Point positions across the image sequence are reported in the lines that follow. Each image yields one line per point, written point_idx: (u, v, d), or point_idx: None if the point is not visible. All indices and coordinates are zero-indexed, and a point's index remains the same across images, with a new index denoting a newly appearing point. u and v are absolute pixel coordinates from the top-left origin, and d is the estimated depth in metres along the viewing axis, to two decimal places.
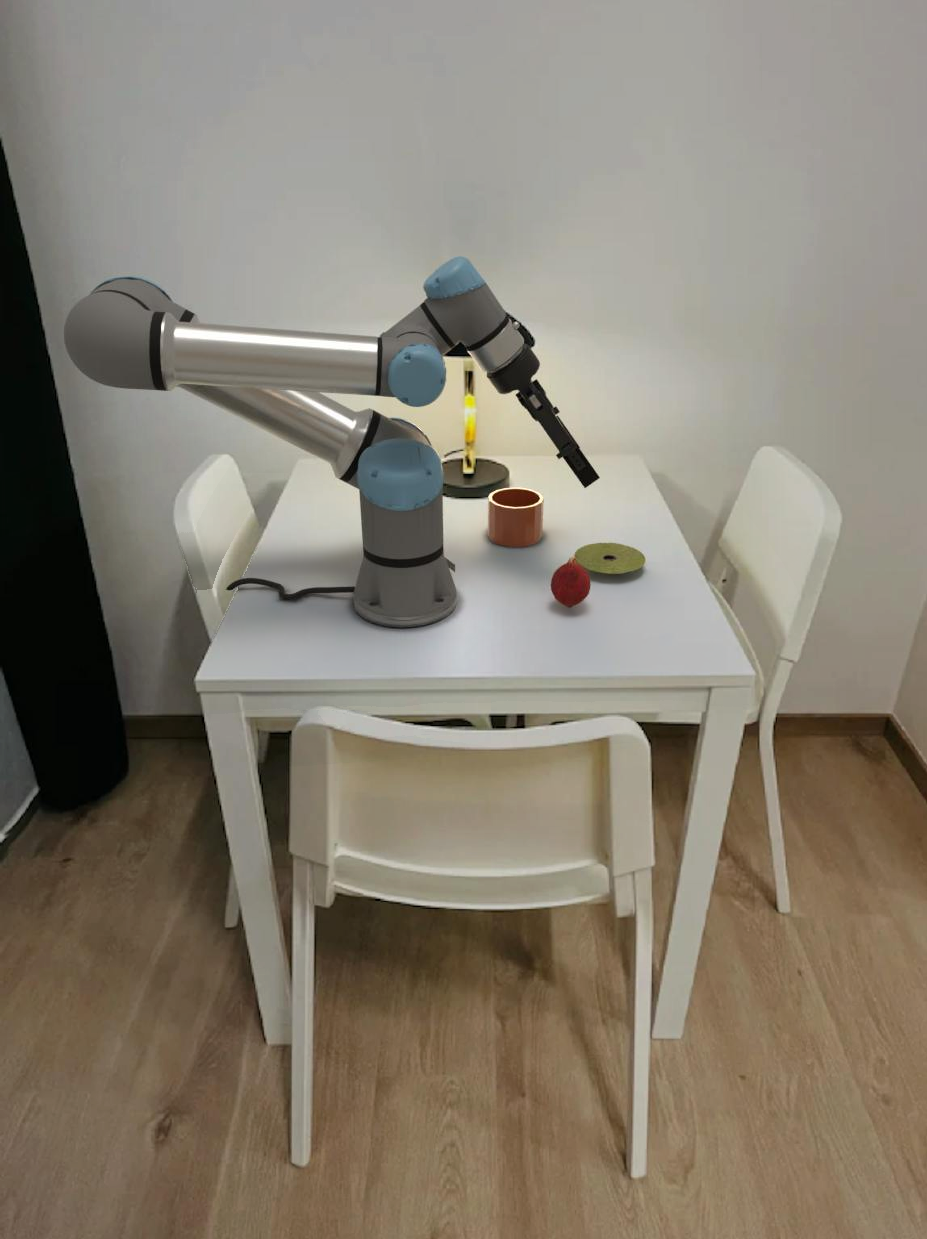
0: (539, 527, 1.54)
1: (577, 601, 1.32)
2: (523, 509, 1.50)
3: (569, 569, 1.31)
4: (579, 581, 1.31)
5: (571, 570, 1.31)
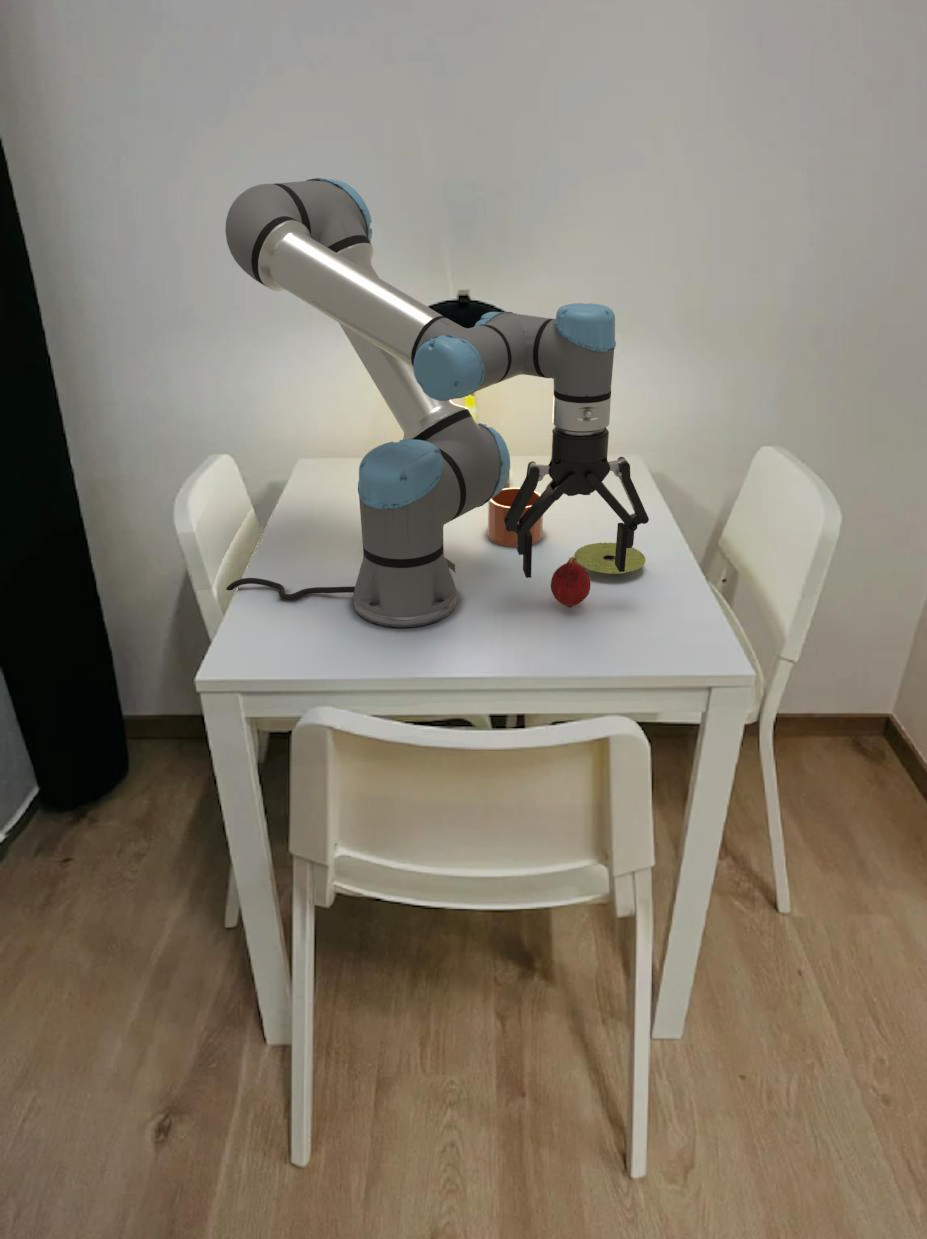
0: (539, 527, 1.54)
1: (577, 601, 1.32)
2: None
3: (569, 569, 1.31)
4: (579, 581, 1.31)
5: (571, 570, 1.31)
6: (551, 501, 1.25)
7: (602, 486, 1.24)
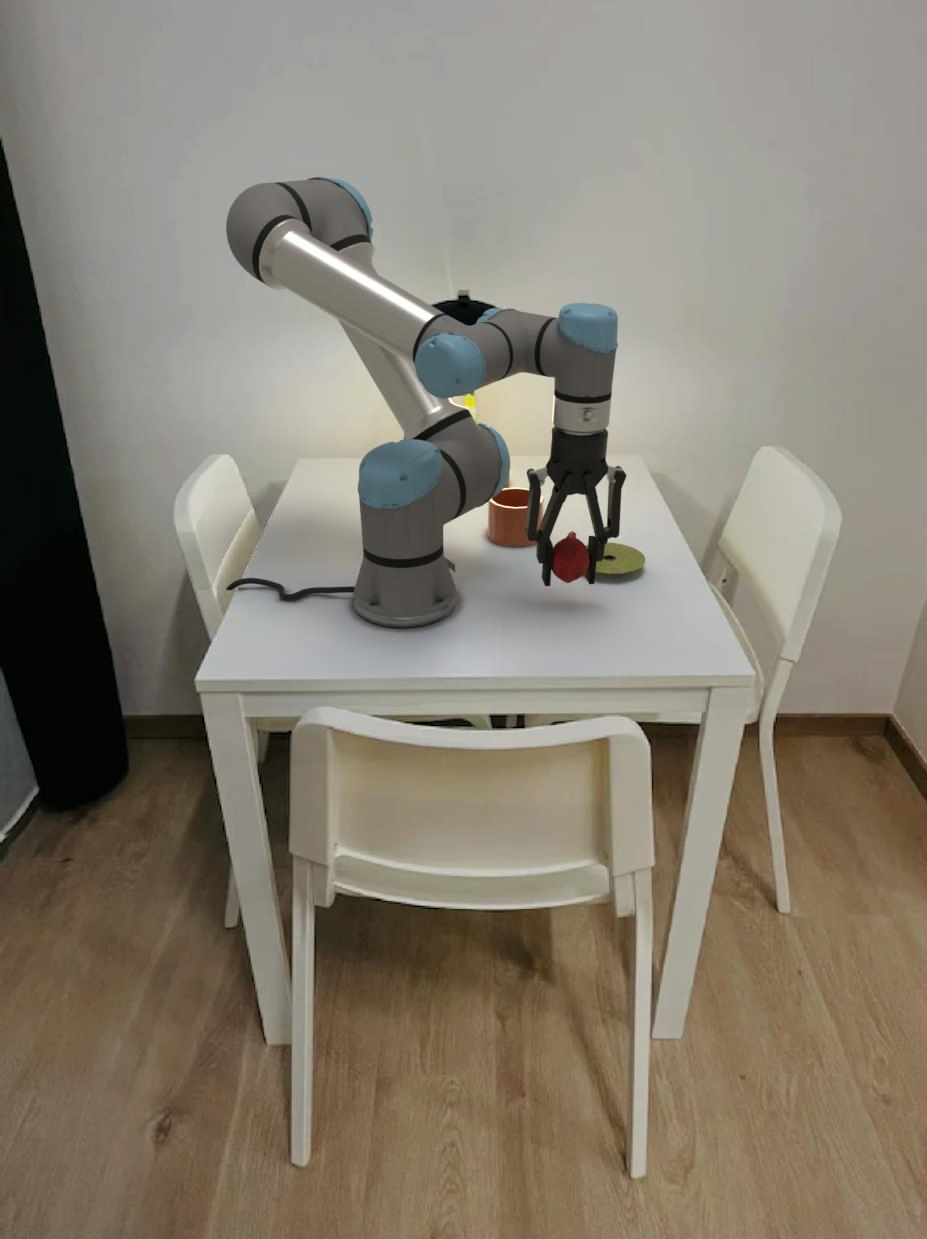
0: None
1: (576, 576, 1.30)
2: (523, 509, 1.50)
3: (568, 544, 1.29)
4: (578, 556, 1.29)
5: (570, 545, 1.29)
6: (559, 504, 1.26)
7: (594, 490, 1.25)
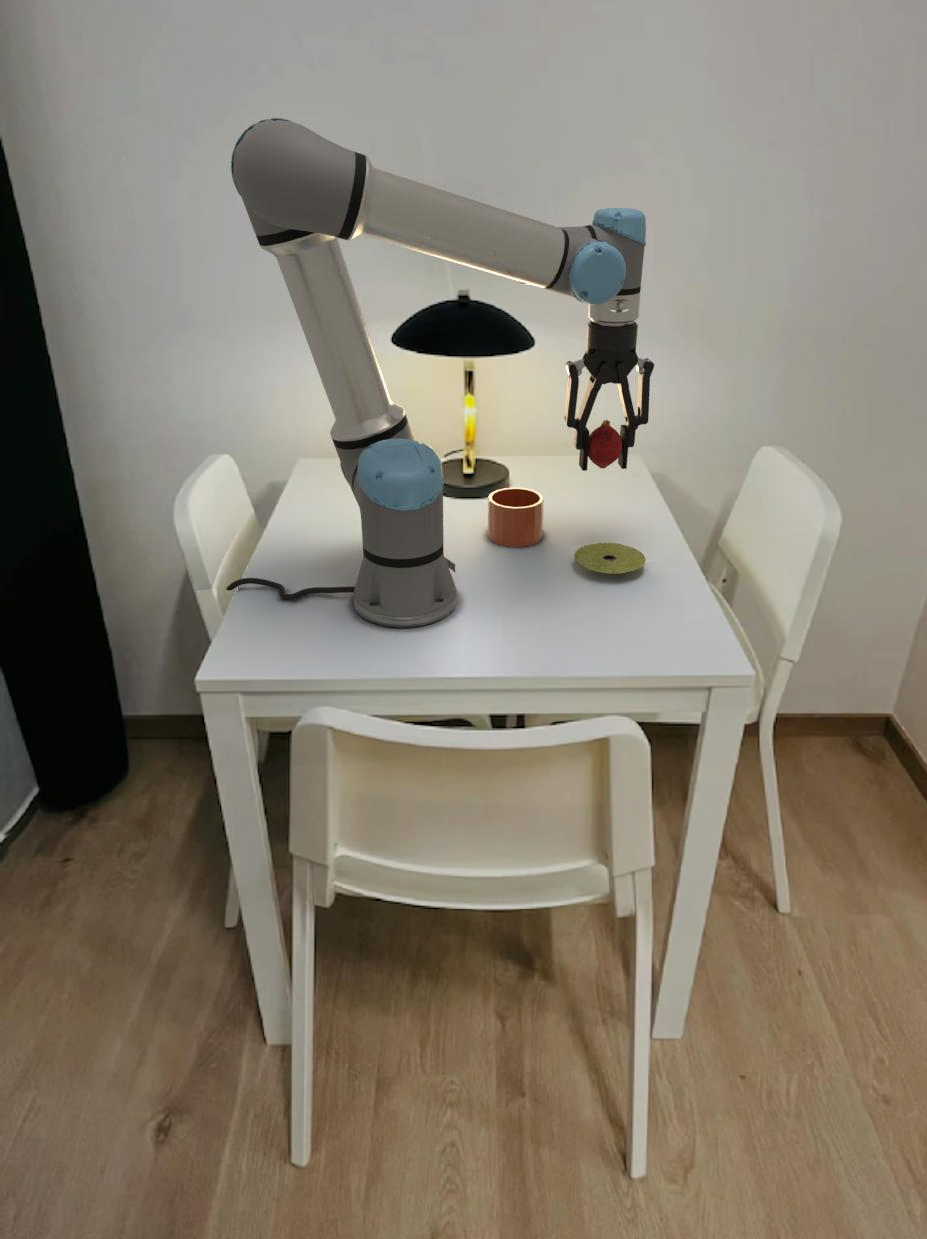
0: (539, 527, 1.54)
1: (610, 460, 1.46)
2: (523, 509, 1.50)
3: (603, 430, 1.45)
4: (612, 441, 1.45)
5: (605, 431, 1.45)
6: (595, 393, 1.42)
7: (626, 379, 1.41)
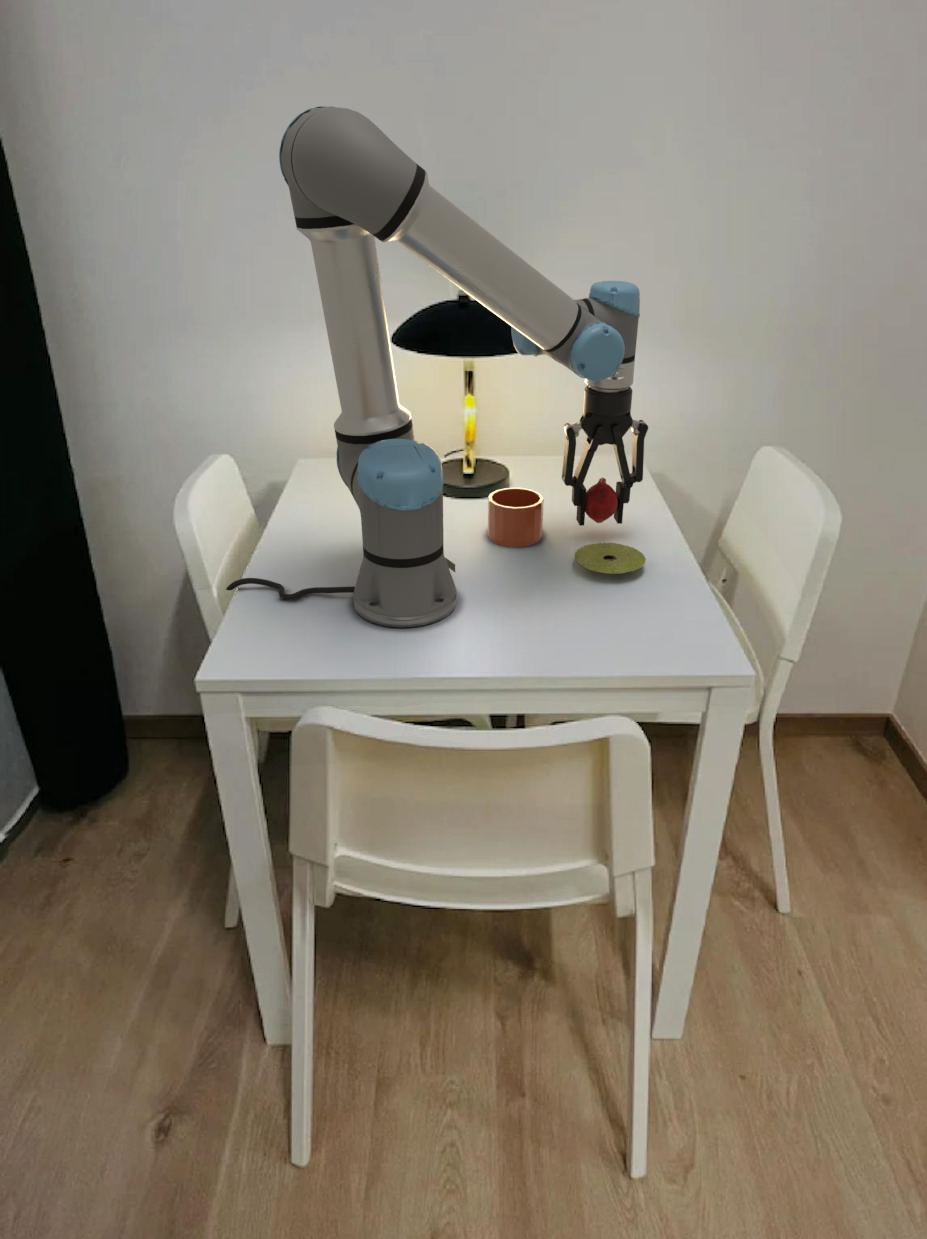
0: (539, 527, 1.54)
1: (606, 516, 1.52)
2: (523, 509, 1.50)
3: (600, 488, 1.51)
4: (608, 498, 1.51)
5: (601, 489, 1.51)
6: (592, 453, 1.48)
7: (621, 440, 1.47)
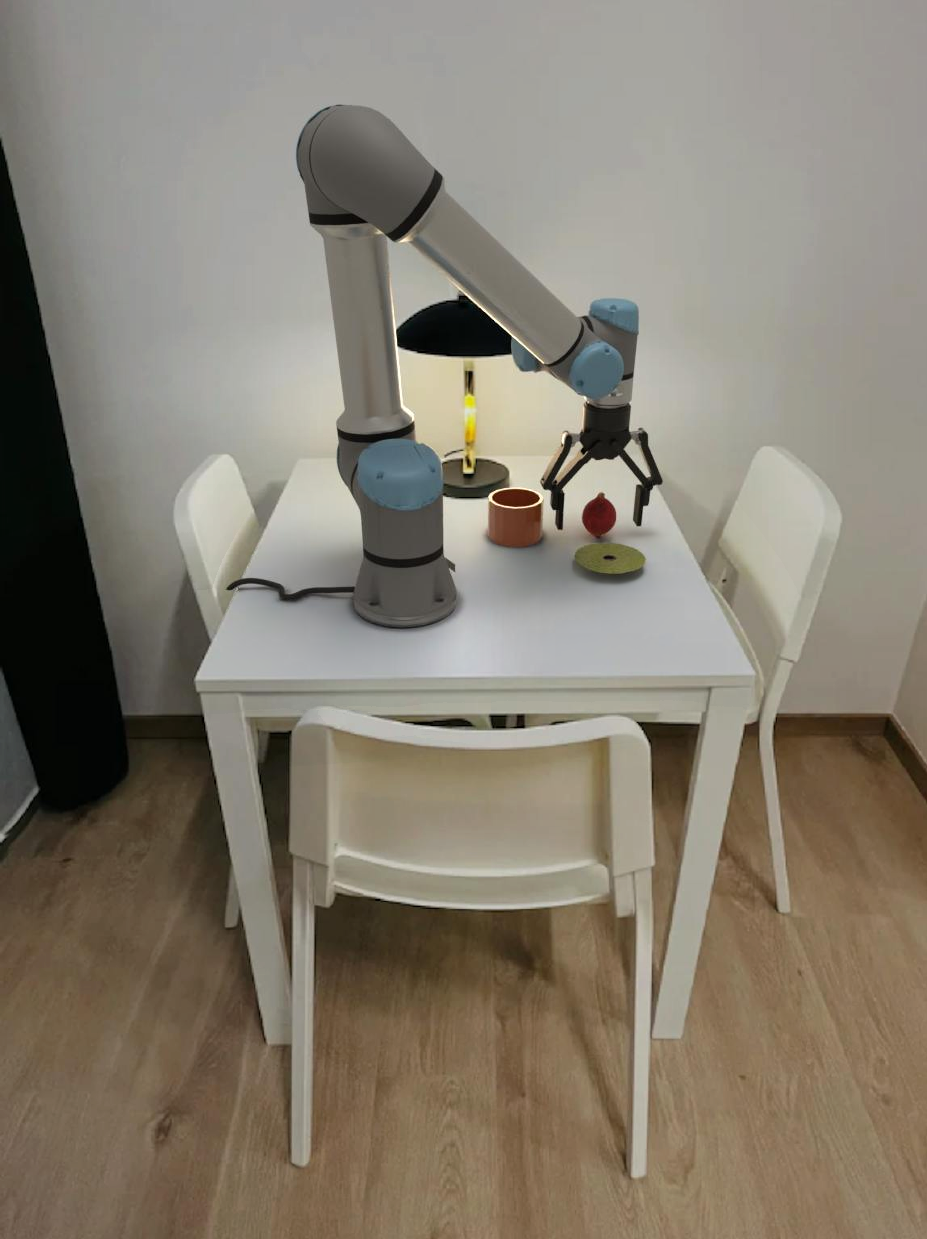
0: (539, 527, 1.54)
1: (605, 530, 1.54)
2: (523, 509, 1.50)
3: (598, 502, 1.52)
4: (607, 513, 1.52)
5: (600, 503, 1.52)
6: (581, 464, 1.49)
7: (624, 452, 1.48)
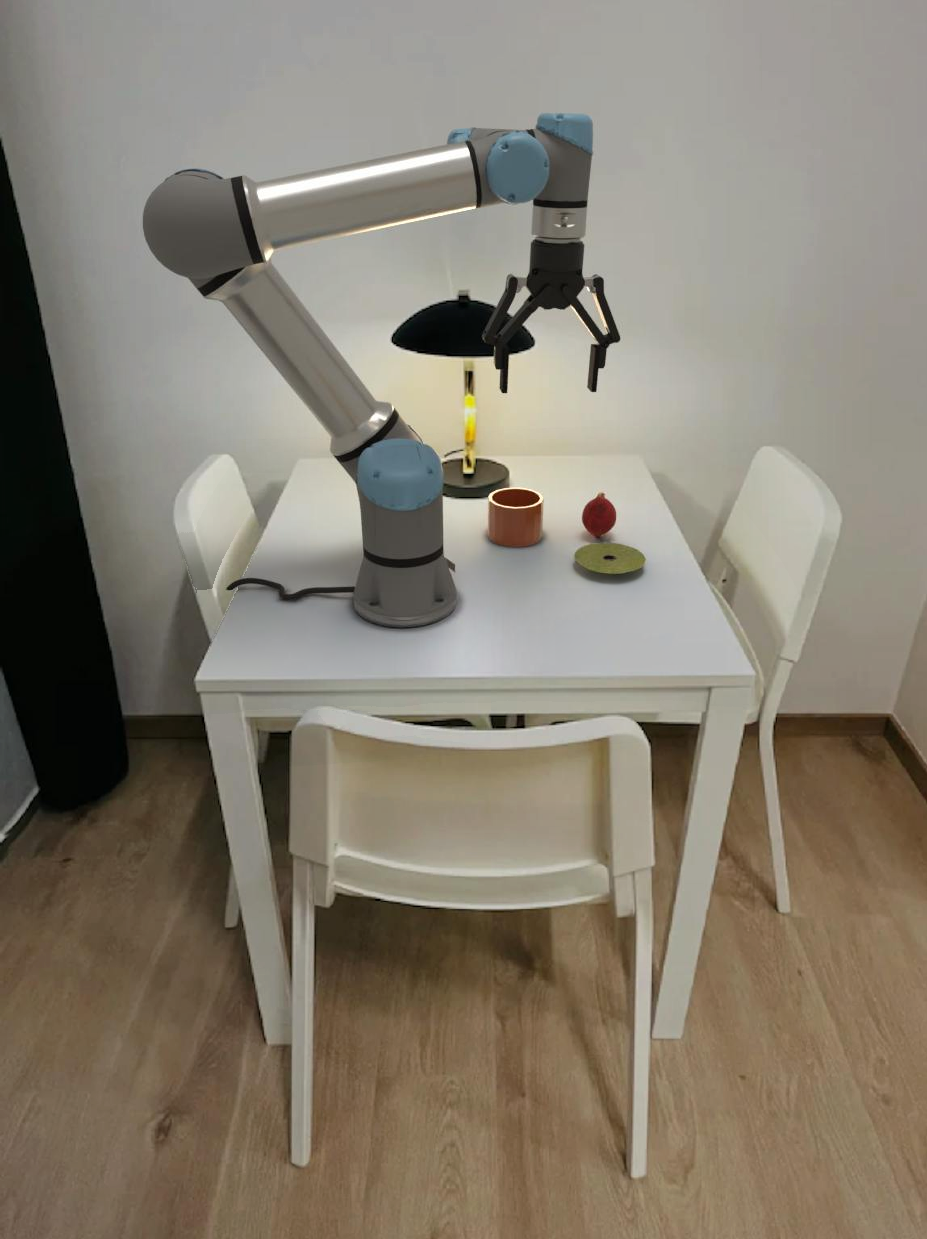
0: (539, 527, 1.54)
1: (605, 530, 1.54)
2: (523, 509, 1.50)
3: (598, 502, 1.52)
4: (607, 513, 1.52)
5: (600, 503, 1.52)
6: (528, 314, 1.31)
7: (577, 300, 1.30)
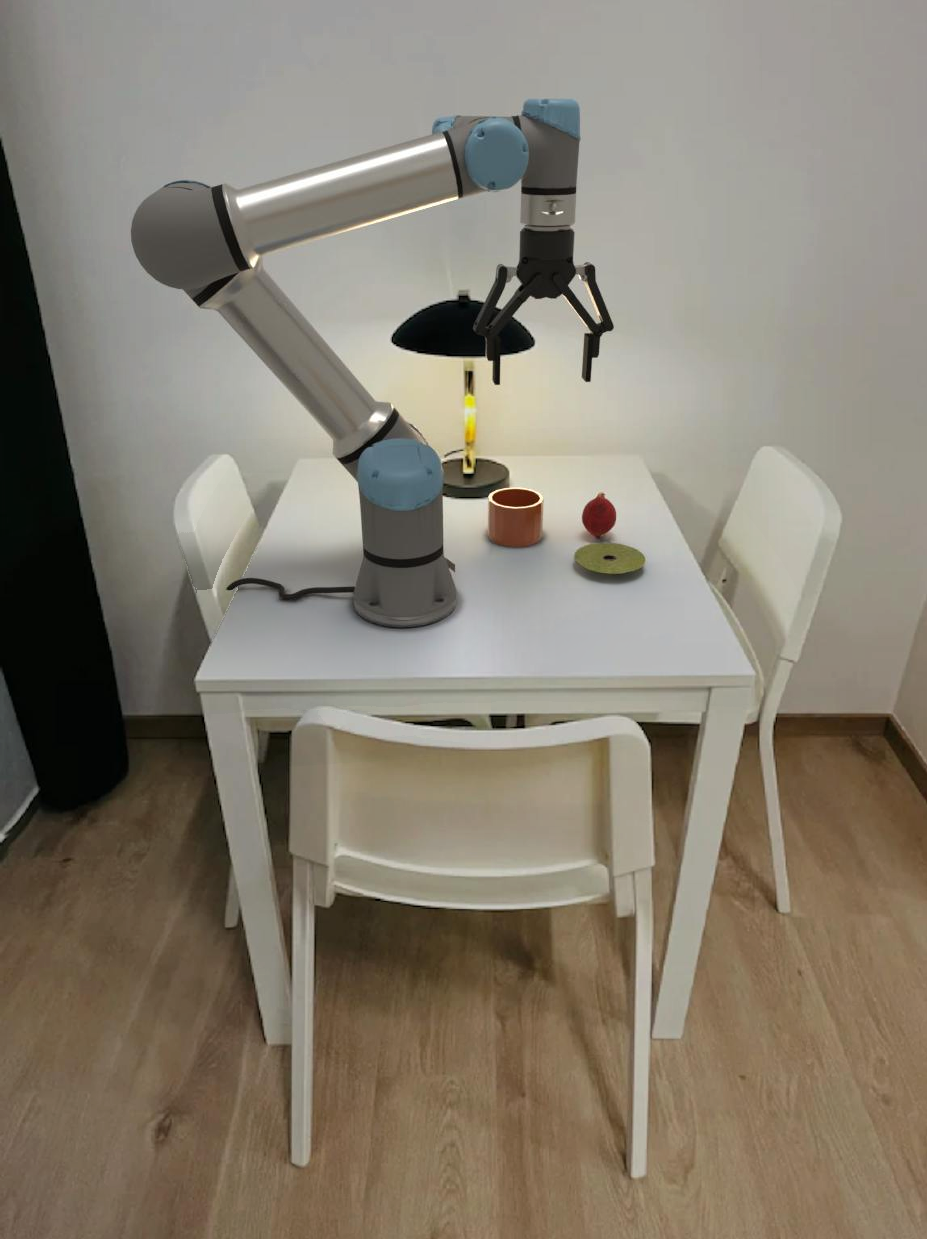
0: (539, 527, 1.54)
1: (605, 530, 1.54)
2: (523, 509, 1.50)
3: (598, 502, 1.52)
4: (607, 513, 1.52)
5: (600, 503, 1.52)
6: (519, 303, 1.29)
7: (568, 288, 1.28)
